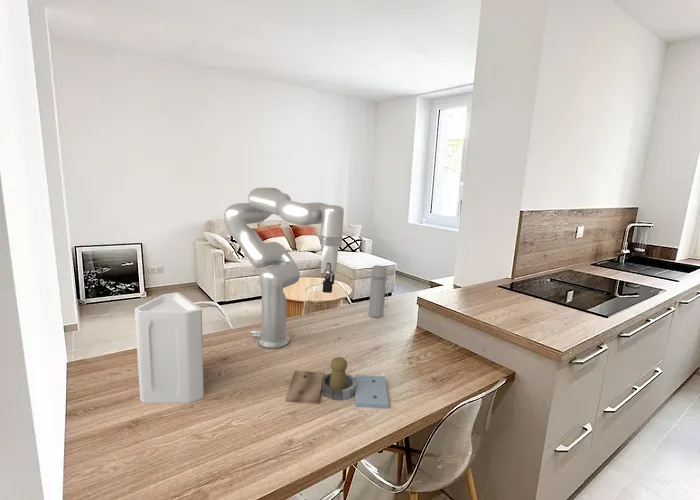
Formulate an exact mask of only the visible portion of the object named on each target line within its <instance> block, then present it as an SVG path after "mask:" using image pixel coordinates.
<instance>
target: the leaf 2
mask: <svg viewBox="0 0 700 500" xmlns="http://www.w3.org/2000/svg"><path fill="white" fill-rule="evenodd" d="M345 374H346V385H348V386H349V387H347V389H343V390H342V400H341V401H345V400H348V399H352V397H353V396H355V397H354V399H355V400H354V407H361V408H362V407H364V408H373V409H374V408H376V409H379V408H380V409H389V398H388V391H387V384H386V376H382V375H370V374H369V375H366V374H355V377H354V376H352V375H350V374H349V373H346V372H345Z"/></svg>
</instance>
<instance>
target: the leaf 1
mask: <svg viewBox="0 0 700 500" xmlns="http://www.w3.org/2000/svg"><path fill="white" fill-rule="evenodd" d="M331 373H332V372H330V373H327V374H326V375H324V371H323V372H319V371H307V370H294V372H293V375H292V377H291V381H290V385H289V388H288V391H287V393H286V396H285V402H286V403H287V402H288V403H300V404H301V403H303V404H317V405H319V404H320V400H321V399H320V398H321V394H322V395H323V396H324V397H326V398H327V399H329V400H333V401H343V400H342V390H338V389H332V388H330V387H329V383H330V378H331Z"/></svg>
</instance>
